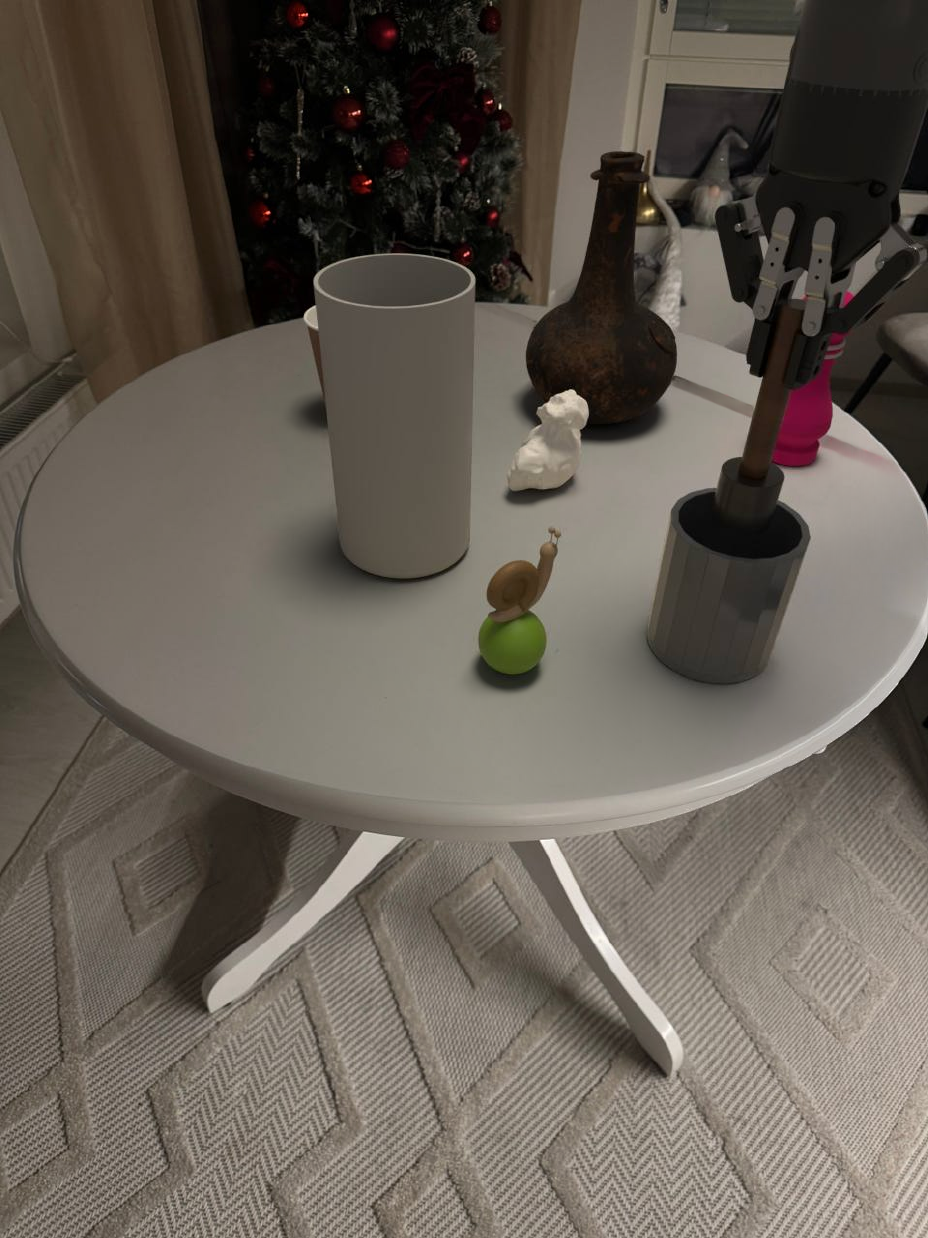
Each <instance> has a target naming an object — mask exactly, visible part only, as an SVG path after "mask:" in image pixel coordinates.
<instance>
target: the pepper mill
mask: <svg viewBox="0 0 928 1238" xmlns="http://www.w3.org/2000/svg"><path fill="white" fill-rule="evenodd" d="M854 296H855V295H854V294H853V293H852V292H850V291H849V290H847V291H846V294H845V298H844V303H843V307H842V308H844V307H845V306H846V305H847V303H848V302H849V301H850V300H851V299H852V298H853V297H854ZM801 299H802V300H806V301H807V296H806V295H805V296H804V297H803V298H801ZM852 332H853V330H851V331H849V332H847V333H845V334H842V335H839V334H836V333H833V334H832V336H831V339H830V342H829V345H828V349H827V352H826V355H825V357H824V362H823V365H822V368H821V372H820V373H819V375H818V376H817V377H816V378H815V379H814V380H812V381H810V382H808V383H807V384H806V385H804V386H803V387H801V388H799V389H797V390H795V391H794V390H791V393H790V397H789V400H788V404H787V407H786V411H785V414H784V418H783V421H782V425H781V428H780V432H779V435H778V439H777V442H776V446H775V449H774V453H773V456H772V460H771V463H774V464H778V465H783V466H786V467H787V466H788V467H803V466H807V465H810V464H811V463H813V462H814V461H815V460H816V458H817V456H818V455H817V454H818V451H819V449H820V441H819V439H821V438H822V437H824V436H825V435H826V434H827V433H828V432H829V431H830V429H831V426H832V421H833V417H834V407H833V406H834V405H833V400H832V394H831V386H830V385H831V383H830V382H831V375H832V370H833V367H834V364H835V362H836V360H837V358H839V357H840V356H842V355H843V353H844V347H845V345H846V344H847V343H846V340H845V337H846V336H848V335H850V333H852Z"/></svg>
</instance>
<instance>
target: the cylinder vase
mask: <svg viewBox="0 0 928 1238" xmlns="http://www.w3.org/2000/svg"><path fill="white" fill-rule="evenodd" d="M313 290H314V291H313V292H314V301H315V305H316V311H317V321H318V331H319V341H320V351H321V361H322V371H323V381H324V391H325V401H326V406H325V409H326V419H327V428H328V429H327V430H328V439H329V449H330V460H331V470H332V478H333V489H334V499H335V508H336V518H337V519H336V520H337V526H338V527H337V529H338V538H339V545H340V549H341V551H342V553H343V554H344V555H345V557H346V558H347V560H349V561H350V563H352V564H353V565H355V567H357V568H359V569H361V570H363V571H364V572H367V573H368V574H369V573H370V574H372V575H375V576H378V577H382V578H383V577H384V578H390V579H415V578H422V577H427V576H430V575H434V574H437V573H439V572H442V571H444V570H446V569H448V568H449V567H451V566H453V565H454V564H455V563H456V562H458V561H459V560H460V559H461V558H462V557H463V556H464V554H465V553H466V551H467V550H468V548H469V544H470V540H471V509H472V506H471V505H472V504H471V503H472V501H471V500H472V464H473V463H472V461H473V460H472V459H473V458H472V457H473V414H474V406H473V405H474V369H475V368H474V365H475V364H474V361H475V318H476V316H475V315H476V314H475V311H476V277H475V274H474V273H473V272H472V271H471V270H470V269H469V268H467V267H466V266H464V265H462V264H460V263H458V262H455V261H453V260H449V259H447V258H441V257H439V256H432V255H425V254H416V253H378V254H377V253H376V254H368V255H366V254H365V255H361V256H360V255H359V256H355V257H350V258H347V259H346V258H345V259H342V260H339V261H336V262H334V263H331V264H329V265H326V266H325V267H323V268H322V269H321V270H319V271H318V272H317V273H316V274H315V276H314V278H313Z"/></svg>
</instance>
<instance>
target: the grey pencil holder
mask: <svg viewBox="0 0 928 1238" xmlns="http://www.w3.org/2000/svg"><path fill="white" fill-rule="evenodd" d="M716 489H717V487H707V488H703V489H699V490H695V491H691V492H689V493H687V494H686V495H684V496H682V497H680V498H679V499H677V501H675V503H674V504H673V507H672V508H671V509H670V513H669V518H668V521H667V522H668V523H667V528H666V532H665V537H664V543H663V547H662V551H661V557H660V562H659V565H658V566H659V567H658V571H657V575H656V576H657V577H656V582H655V586H654V591H653V597H652V601H651V606H650V611H649V615H648V623H647V624H648V625H647V628H646V640H647V642H648V645H649V648H650V649H651V651H652V653H653V654H654V655H655V657H656V658H657V659H658V660H659V662H661V663H662V664H663V665H664V666H666V667H668V668H669V669H671V670H672V671H673V672H675V673H677V674H679V675H682V676H684V677H686V678H689V679H692V680H696V681H697V682H698V681H699V682H702V683H708V684H718V685H724V684H736V683H740V682H741V683H742V682H744V681H748V680H750V679H753V678H754V677H756V676H757V675H759V674H760V673H761V672H762V671H763V670H764V669H765V668H766V667H767V665H768V664H769V661H770V659H771V656H772V653H773V650H774V648H775V645H776V642H777V639H778V636H779V633H780V629H781V627H782V625H783V622H784V618H785V616H786V613H787V611H788V607H789V604H790V601H791V597H792V595H793V592H794V589H795V586H796V584H797V580H798V577H799V574H800V571H801V568H802V565H803V562H804V560H805V557H806V553H807V551H808V547H809V545H810V542H811V539H812V537H811V531H810V527H809V525H808V523H807V522H806V521H805V519H804V518H803V517H802V515H801V514H800V513H799V512H798V511H796V510H795V509H793V508H792V507H791V506H789V505H788V504H787V503H786V502H783V501H781V500H779V499H778V502H777V505H776V508H775V512H774V515H773V518H772V522H771V525H770V527H769V528H768V529H767V530H765V531H764V532H761V533H758V534H739V533H734V532H731V531H728V530H726V529H724V528H722V527H720V526H719V525H717V524H716V523H715V522H714V521H713V519H712V517H711V510H712V505H713V501H714V497H715V493H716Z"/></svg>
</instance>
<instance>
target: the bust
mask: <svg viewBox="0 0 928 1238" xmlns="http://www.w3.org/2000/svg"><path fill="white" fill-rule="evenodd" d="M535 414H536V415H537V416H538V417H539V418H540V419H539V420H540V421H541V424H539V425H537V426H535V427H534V428H533V429H531V430H530V431H529V432H528V434H527V437H526V438H525V440H524V441H523V442H522V443H521V445H520V448H519V449H518V450H517V451H516V453H515V454H514V456H513V458H512V460H511V462H510V465H509V466H508V470H507V475H506V476H507V477H506V479H507V484H508V488H509V489H510V490H511V491H513V492H519V491H524V490H527V489H537V490H548V489H556V488H559V487H561V486H563V485H564V484H565V483H566V482H568V481H569V480H570V479H571V477H573V476H574V475H575V473H576V472H577V471H578V469H579V465H580V462H581V458H582V452H581V449H582V441H581V437H582V434H581V431H580V430H582V429H584V428H585V426H586V425H587V424H588V423H587V419H588V416H589V411H588V405H587V402H586V401H585V400H584V399H583V398H582V397H580V396H579V395H577V394H576V392H575V391H574V390H571V389H570V390H568V391H565V392H563V393H560V394H556V395H555V396H553V397H551V398H550V401H549V402H548V403H543V405H542V406H538V407H537V410H536V413H535Z"/></svg>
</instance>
